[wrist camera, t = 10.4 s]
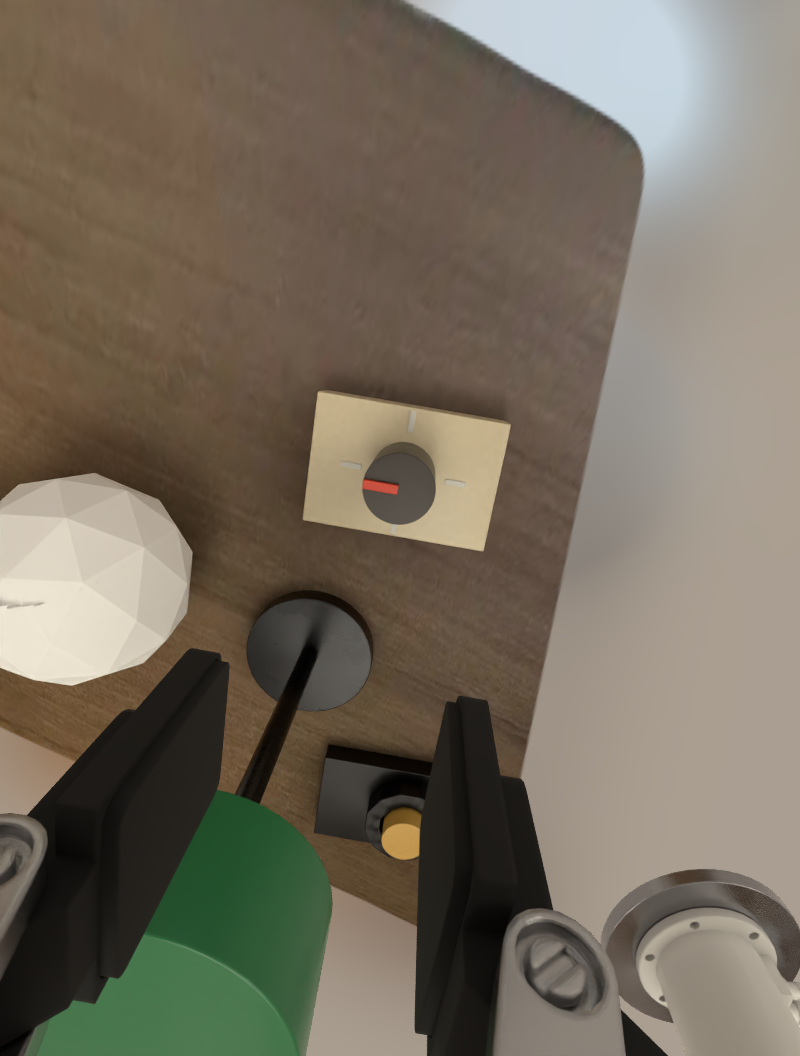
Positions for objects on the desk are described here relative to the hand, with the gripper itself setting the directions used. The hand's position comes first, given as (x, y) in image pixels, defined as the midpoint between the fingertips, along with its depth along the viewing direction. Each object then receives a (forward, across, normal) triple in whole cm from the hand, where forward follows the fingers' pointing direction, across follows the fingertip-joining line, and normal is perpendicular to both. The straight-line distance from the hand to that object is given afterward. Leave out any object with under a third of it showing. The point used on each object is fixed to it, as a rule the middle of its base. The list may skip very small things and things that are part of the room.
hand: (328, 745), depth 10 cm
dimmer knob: (+28, 0, 0) cm, 28 cm away
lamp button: (+28, -5, +29) cm, 41 cm away
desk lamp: (+31, +5, +16) cm, 36 cm away
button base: (+31, -3, +29) cm, 43 cm away
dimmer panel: (+31, 0, 0) cm, 31 cm away
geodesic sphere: (+32, +20, +10) cm, 39 cm away
